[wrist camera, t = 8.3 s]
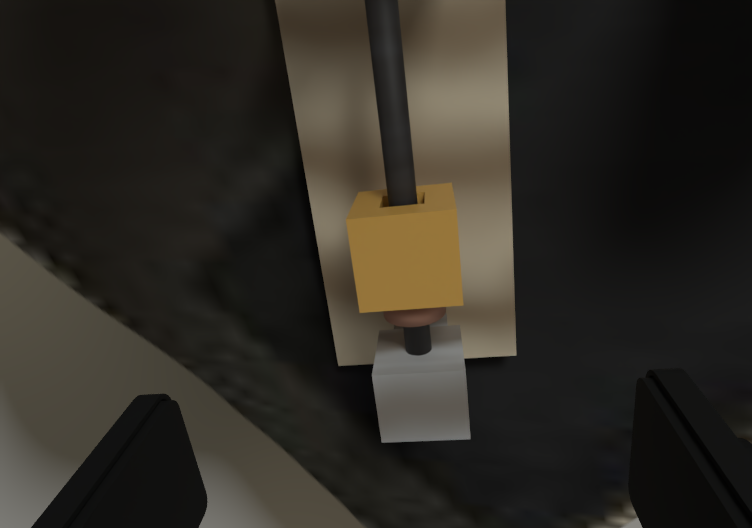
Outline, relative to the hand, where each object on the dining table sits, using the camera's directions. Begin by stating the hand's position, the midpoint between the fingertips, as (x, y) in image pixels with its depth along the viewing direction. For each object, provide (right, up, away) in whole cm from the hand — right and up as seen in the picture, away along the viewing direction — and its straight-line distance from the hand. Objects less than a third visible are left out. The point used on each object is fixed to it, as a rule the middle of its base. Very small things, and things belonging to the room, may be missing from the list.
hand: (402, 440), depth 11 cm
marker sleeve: (+1, +5, +14) cm, 15 cm away
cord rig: (+1, +9, +16) cm, 19 cm away
